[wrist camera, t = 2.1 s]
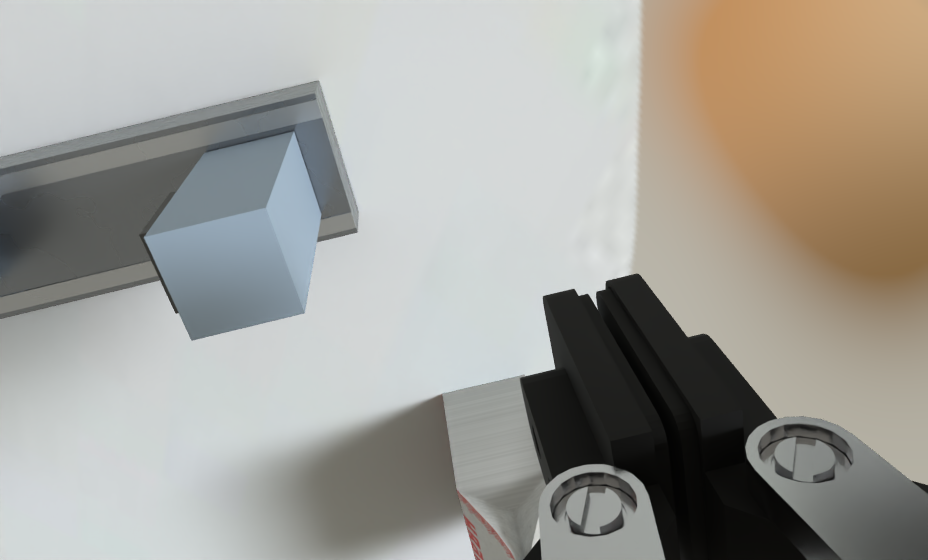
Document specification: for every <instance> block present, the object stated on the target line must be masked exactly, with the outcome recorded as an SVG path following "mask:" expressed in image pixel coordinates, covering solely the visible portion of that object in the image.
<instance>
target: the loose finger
mask: <svg viewBox="0 0 928 560" xmlns="http://www.w3.org/2000/svg"><path fill="white" fill-rule="evenodd" d="M320 220H321V212H320V209H319V205H318V202H317V199H316V196H315V193H314V190H313V187H312V184H311V181H310V178H309V175H308V172H307V169H306V166H305V163H304V160H303V157H302V154H301V151H300V148H299V145H298V142H297V139H296V136H295V133H294V131H293V132H288V133H284V134H280V135H276V136H272V137H268V138H263V139H259V140H255V141H251V142H247V143H243V144H239V145H234V146H230V147H226V148H222V149H218V150H214V151H210V152H205V153H204V154H203V155H202V157H201V158H200V160H199V161H198V162H197V164H196V165H195V167H194V168H193V169H192V171H191V172H190V174H189V175H188V176H187V178H186V179H185V180H184V182H183V183H182V185H181V186H180V187H179V189H178V190H177V191H174V192H170V193H169V195H168V196H167V198H166V199H165V200H164V202H163V203H162V204H161V206H160V207H159V208H158V210H157V211H156V212H155V214H154V215H153V216H152V218H151V219H150V221H149V222H148V223H147V225H146V226H145V227H144V229H143V230H142V231H141V233H140V234H139V236H140V238H141V240H142V242H143V244H144V247H145V249H146V251H147V253H148V255H149V257H150V259H151V262H152V264H153V266H154V268H155V270H156V272H157V275H158V277H159V279H160V281H161V283H162V285H163V287H164V290H165V292H166V294H167V296H168V298H169V300H170V302H171V305H172V307H173V309H174V311H175V313H176V314H177V313H179V314H180V317H181V319H182V321H183V323H184V325H185V327H186V330H187V332H188V334H189V336H190V338H191V340H196V339H200V338H205V337H209V336H213V335H217V334H221V333H225V332H229V331H233V330H237V329H242V328H246V327H250V326H254V325H258V324H262V323H266V322H270V321H275V320H279V319H283V318H287V317H291V316H295V315H299V314H303V313H305V308H306V302H307V296H308V290H309V284H310V279H311V273H312V267H313V261H314V255H315V249H316V243H317V238H318V232H319V226H320Z"/></svg>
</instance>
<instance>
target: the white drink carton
mask: <svg viewBox="0 0 928 560" xmlns="http://www.w3.org/2000/svg"><path fill="white" fill-rule="evenodd" d="M521 377H525V375H521V376H517V377H513V378H508V379H504V380H500V381H495V382H491V383H487V384H483V385H478V386H474V387H470V388H465V389H461V390H457V391H452V392H448V393H444V394H442V395H443V401H444V408H445V415H446V422H447V428H448V435H449V442H450V449H451V455H452V462H453V469H454V476H455V482H456V489H457V493H458V497H459V500H460V504H461V508H462V511H463V515H464V519H465V522H466V526H467V530H468V533H469V537H470V541H471V544H472V548H473V552H474V556H475V559H476V560H523V559H524V558H525V557H526V555H527V554H528V553H529V552H530V550H531V549H532V548H533V546H534V545H535V544H536V543H537V541H538V540H539V539H540V527H539V513H538V508H539V501H540V496H541V494H542V493H543V491H544V489H545V487H546V484H545V481H544V477H543V474H542V471H541V467H540V464H539V460H538V457H537V453H536V450H535V446H534V442H533V438H532V434H531V430H530V426H529V422H528V417H527V413H526V408H525V403H524V399H523V394H522V389H521V384H520V378H521Z"/></svg>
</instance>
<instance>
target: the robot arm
mask: <svg viewBox="0 0 928 560" xmlns="http://www.w3.org/2000/svg"><path fill="white" fill-rule="evenodd" d="M596 299H597V306H598V310H597V308H596V306H595V305H594V303H593V301H592V299H591V298H590V296H589V295H588V294H585V295H581V296H578V294H577V293H576V291H575V289H571V290H567V291H563V292H558V293H554V294H550V295H546V296H543V304H544V310H545V315H546V320H547V326H548V331H549V337H550V342H551V347H552V353H553V358H554V363H555V369H554V370H550V371H546V372H542V373H538V374H534V375H530V376H525V377H521V378H520V384H521V389H522V394H523V399H524V403H525V408H526V413H527V417H528V422H529V426H530V430H531V434H532V438H533V442H534V446H535V450H536V453H537V457H538V460H539V464H540V467H541V471H542V474H543V477H544V481H545V484H546V487H545V489H544V491H543V493H542V494H541V496H540V501H539V508H538V513H539V527H540V539H539V540H538V541H537V543H536V544H535V545H534V546H533V548H532V549H531V550H530V552H529V553H528V554H527V555H526V557H525V558H524V559H523V560H928V485H925V484H921V483H918V482H914V481H911V480H910V479H908V478H907V477H906V476H905V475H903V474H902V473H901V472H900V471H898V470H897V469H896V468H895V467H893V466H892V465H891V464H890V463H888V462H887V461H886V460H885V459H883V458H882V457H881V456H880V455H878V454H877V453H876V452H875V451H873V450H872V449H871V448H870V447H868V446H867V445H866V444H865V443H863V442H862V441H861V440H860V439H858V438H857V437H856V436H855V435H853V434H852V433H850V432H849V431H847V430H845V429H844V428H842V427H840V426H839V425H836V424H834V423H831V422H828V421H825V420H822V419H817V418H811V417H804V416H799V417H783V418H779V419H777V418H776V416H775V415H774V414H773V413H772V411H771V410H770V409H769V408H768V407H767V406H766V404H765V403H764V402H763V401H762V399H761V398H760V397H759V396H758V395H757V393H756V392H755V391H754V390H753V388H752V387H751V386H750V385H749V383H748V382H747V381H746V380H745V379H744V377H743V376H742V375H741V374H740V373H739V371H738V370H737V369H736V368H735V366H734V365H733V364H732V363H731V362H730V360H729V359H728V358H727V357H726V355H725V354H724V353H723V352H722V351H721V349H720V348H719V347H718V346H717V345H716V343H715V342H714V341H713V340H712V339H711V338H710V337H709V336H708V335H706V334H700V335H696V336H692V337H687V336H686V335H685V333H684V332H683V331H682V330H681V328H680V327H679V325H678V324H677V323H676V321H675V320H674V319H673V318H672V316H671V315H670V314H669V312H668V311H667V310H666V308H665V307H664V306H663V304H662V303H661V302H660V300H659V299H658V298H657V297H656V295H655V294H654V293H653V291H652V290H651V289H650V288H649V286H648V285H647V284H646V282H645V281H644V280H643V279H642V277H641V276H640V275H639V274H633V275H629V276H625V277H621V278H617V279H612V280H608V281H606V290H602V291H598V292H597V293H596Z"/></svg>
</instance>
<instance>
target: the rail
mask: <svg viewBox="0 0 928 560" xmlns="http://www.w3.org/2000/svg"><path fill="white" fill-rule="evenodd" d="M293 131H294V133H295V136H296V139H297V142H298V145H299V148H300V151H301V154H302V157H303V160H304V163H305V166H306V169H307V172H308V175H309V178H310V181H311V184H312V187H313V190H314V193H315V196H316V199H317V202H318V205H319V209H320V212H321V220H320V226H319V232H318V238H317V242H320V241H324V240H328V239H332V238H336V237H341V236H345V235H349V234H353V233H357V232H358V213H359V212H358V208H357V205H356V202H355V198H354V195H353V192H352V189H351V185H350V182H349V179H348V175H347V172H346V169H345V165H344V162H343V159H342V156H341V152H340V149H339V146H338V142H337V139H336V136H335V132H334V129H333V126H332V122H331V119H330V116H329V113H328V109H327V106H326V103H325V99H324V96H323V93H322V89H321V86H320V83H319V81H316V82H311V83H307V84H303V85H299V86H295V87H291V88H286V89H282V90H278V91H274V92H270V93H266V94H262V95H257V96H253V97H249V98H245V99H241V100H237V101H233V102H228V103H224V104H220V105H216V106H212V107H208V108H203V109H199V110H195V111H191V112H187V113H183V114H179V115H174V116H170V117H166V118H162V119H158V120H154V121H149V122H145V123H141V124H137V125H133V126H129V127H125V128H120V129H116V130H112V131H108V132H104V133H100V134H95V135H91V136H87V137H83V138H79V139H75V140H71V141H66V142H62V143H58V144H54V145H50V146H46V147H41V148H37V149H33V150H29V151H25V152H21V153H17V154H12V155H8V156H4V157H0V319H2V318H6V317H10V316H14V315H19V314H23V313H27V312H31V311H35V310H39V309H43V308H47V307H52V306H56V305H60V304H64V303H68V302H72V301H76V300H81V299H85V298H89V297H93V296H97V295H101V294H105V293H109V292H114V291H118V290H122V289H126V288H130V287H134V286H138V285H142V284H147V283H151V282H155V281H159V280H160V279H159V277H158V275H157V272H156V270H155V268H154V266H153V264H152V262H151V259H150V257H149V255H148V253H147V251H146V249H145V247H144V244H143V242H142V240H141V238H140V236H139V234H140V233H141V231H142V230H143V229H144V227H145V226H146V225H147V223H148V222H149V221H150V219H151V218H152V216H153V215H154V214H155V212H156V211H157V210H158V208H159V207H160V206H161V204H162V203H163V202H164V200H165V199H166V198H167V196H168V195H169V193H170V192H174V191H177V190H178V189H179V187H180V186H181V185H182V183H183V182H184V180H185V179H186V178H187V176H188V175H189V174H190V172H191V171H192V169H193V168H194V167H195V165H196V164H197V162H198V161H199V160H200V158H201V157H202V155H203V154H204V153H205V152H210V151H214V150H218V149H222V148H226V147H230V146H234V145H239V144H243V143H247V142H251V141H255V140H259V139H263V138H268V137H272V136H276V135H280V134H284V133H288V132H293Z"/></svg>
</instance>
